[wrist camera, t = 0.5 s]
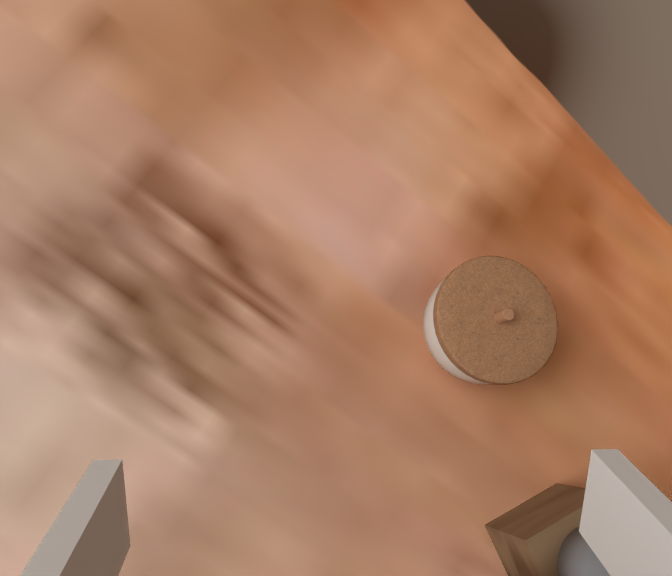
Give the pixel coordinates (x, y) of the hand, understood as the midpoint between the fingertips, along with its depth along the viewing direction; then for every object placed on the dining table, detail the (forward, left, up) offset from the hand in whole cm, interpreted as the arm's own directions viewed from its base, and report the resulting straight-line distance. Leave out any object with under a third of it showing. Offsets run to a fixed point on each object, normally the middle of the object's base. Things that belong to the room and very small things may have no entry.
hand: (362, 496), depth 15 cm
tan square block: (-18, -18, -33) cm, 42 cm away
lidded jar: (+2, -20, -33) cm, 39 cm away
